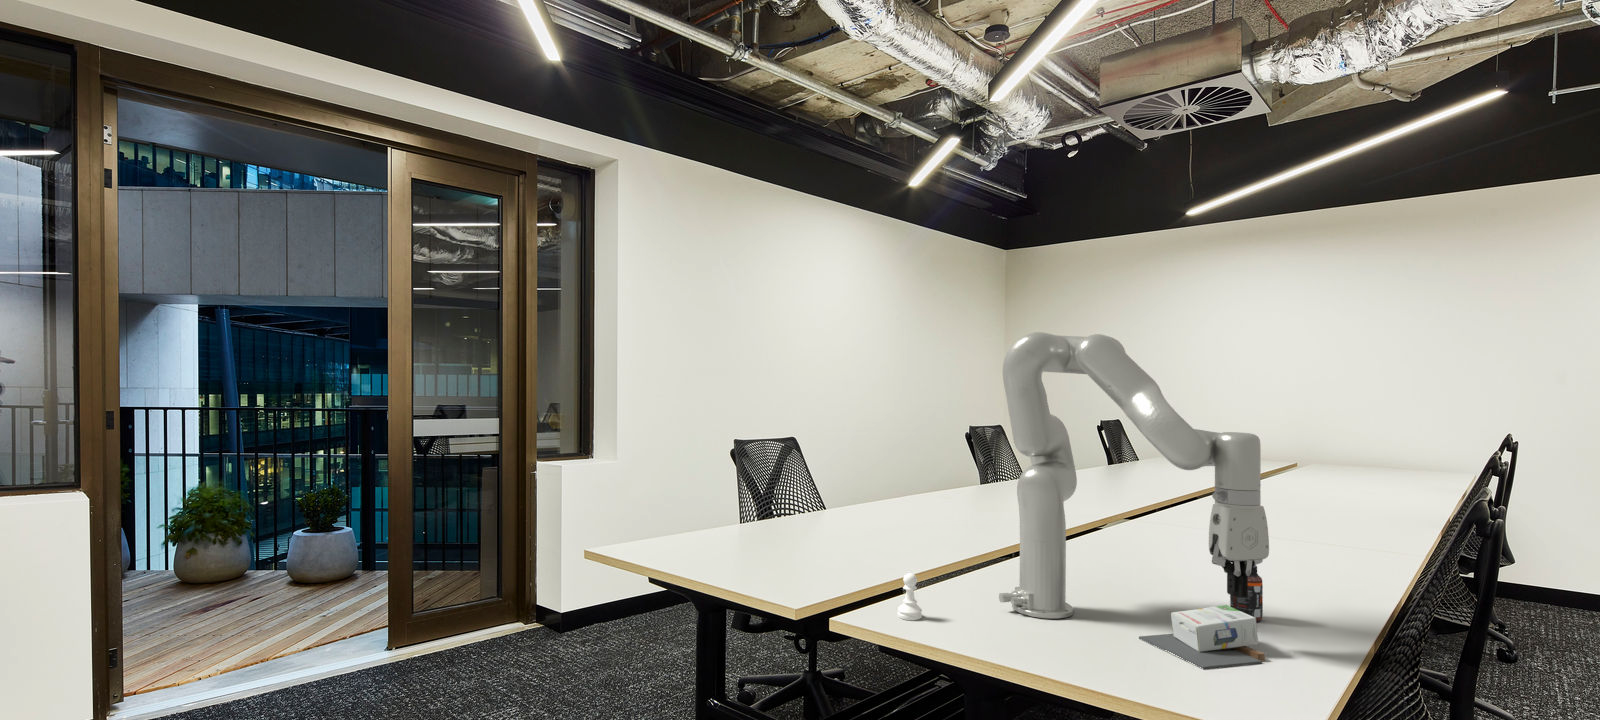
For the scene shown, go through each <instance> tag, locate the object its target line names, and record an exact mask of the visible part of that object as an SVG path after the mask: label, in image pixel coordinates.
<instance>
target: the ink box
mask: <svg viewBox="0 0 1600 720" xmlns="http://www.w3.org/2000/svg"><path fill="white" fill-rule="evenodd" d="M1170 617H1171V625H1172V628H1171V629H1172V634H1173V636H1174V637H1176V638H1177V639H1179V640H1180V641H1182V642H1184V643H1185V644H1187V645H1189V646H1190V647H1192V648H1193V649H1195V650H1197V651H1198V652H1203V651H1211V650H1219V649H1226V648H1234V647H1242V646H1247V647H1249V646H1254V645H1259V638H1258V626H1257V622H1256V618H1255V617H1253V616H1250V615H1248V614H1246V613H1243V612H1241V611H1239V610H1237V609H1234V608H1232V607H1230V605H1228V604H1225V605H1224V604H1223V605H1217V606H1209V607H1203V608H1195V609H1187V610H1181V611H1173V612H1171V613H1170Z"/></svg>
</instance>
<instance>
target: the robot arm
mask: <svg viewBox="0 0 1600 720" xmlns="http://www.w3.org/2000/svg"><path fill="white" fill-rule="evenodd" d="M1043 373H1056V374H1057V373H1059V374H1061V373H1063V374H1077V375H1087V376H1088V377H1089V378H1090V379H1091V380H1092V381H1093V382H1094V383H1095V384H1096V385H1097V386H1098V387H1099V389H1101V390H1102V391H1103V392H1104V393H1105V394H1106V395H1107V396H1108V397H1109V398H1110V399H1111V400H1112V401H1113V402H1114V403H1115V404H1116V405H1117V406H1118V407H1119V408H1120V409H1121V410H1122V411H1123V413H1124V414H1125V415H1126V417H1127V418H1128V419H1129V420H1130V421H1131V423H1133V425H1134V426H1135V427H1136V428H1137V430H1138V431H1139V432H1140V433H1141V434H1142V435H1143V437H1144V438H1145V439H1146V440H1147V441H1148V442H1149V443H1150V444H1151V445H1152V446H1153V447H1154V448H1155V449H1156V450H1157V451H1158V452H1159V453H1160V454H1161V455H1162V457H1164V458H1166V460H1167V461H1168V462H1169V463H1170V464H1172V465H1173V466H1174V467H1177V468H1178V469H1181V470H1185V471H1196V470H1198V469H1201V468H1204V467H1214V492H1212V495H1211V496H1212V499H1213V500H1214V504H1212V507H1211V512H1210V513H1211V514H1210V520H1209V525H1208V527H1209V529H1208V551H1209V554H1210V555H1211V556H1212V557H1211V564H1213V565H1216V566H1219V567H1222V569H1223V572H1224V573H1225V574H1226V593H1227V595H1229V596H1230V595H1233V596H1236V597H1239V598H1242V597H1248V576H1249V575H1250V574H1251V569H1252V568H1253V567H1254V565H1256V566H1258V565H1260V564H1261V563H1263V560H1265V559H1268V557H1269V556H1270V555H1269V554H1270V540H1269V539H1270V538H1269V527H1268V519H1267V514H1266V510H1265V508H1264V505H1261V503H1262V502H1261V491H1262V490H1261V486H1262V485H1261V472H1262V471H1261V467H1262V466H1261V439H1260V437H1259V436H1258V435H1256V434H1254V433H1251V432H1238V431H1237V432H1233V431H1230V432H1229V431H1226V432H1225V431H1223V432H1215V431H1209V430H1204V429H1196V428H1195V429H1194V428H1193V427H1192V425H1190V424H1189V423H1188V422H1187V421H1186V420H1185V419H1184V418H1183V417H1182V416H1181V415H1180V414H1179V413H1178V412H1177V411H1176V410H1175V408H1173V407H1172V406H1171V405H1170V404H1169V402H1168V401H1167V399H1166V398H1165V396H1164V395H1163V393H1162V390H1161V388H1160V385H1158V383H1157V382H1156V380H1154V379H1153V378H1152V377H1151V376H1150V375H1149V373H1147V372H1146V371H1145V370H1144V369H1143V368H1142V367H1141V366H1139V364H1138V363H1137V362H1135V360H1134V359H1132V358H1131V357H1130V356H1129V355H1128V354H1127V352H1126V349H1125V347H1124V346H1123V344H1122V343H1121V342H1120V340H1117V339H1116V338H1114V337H1111V336H1109V335H1104V334H1101V333H1100V334H1099V333H1097V334H1091V335H1088V336H1074V335H1073V336H1072V335H1058V334H1057V335H1055V334H1052V333H1047V332H1040V331H1038V332H1032V333H1028V334H1025V335H1023V336H1022V337H1020V338H1019V339H1017V340H1016V341H1015V342H1014V343H1013V344H1012V345H1011V346H1010V348H1009V349H1008V351H1007V352H1006V354H1005V357H1004V358H1003V363H1002V379H1003V380H1002V381H1003V387H1004V391H1005V396H1006V397H1005V398H1006V403H1007V409H1008V416H1009V422H1010V428H1011V432H1012V438H1013V444H1014V446H1015V448H1016V449H1017V450H1018V453H1020V454H1022V455H1024V456H1025V457H1029V458H1030V463H1031V465H1030V466H1028V467H1027V468H1025V470H1023V472H1022V473H1021V474H1020V475H1019V478H1018V479H1017V480H1018V481H1017V486H1016V495H1017V503H1018V512H1019V515H1018V516H1019V586H1014V590H1013V591H1012V592H1001V593H999V594H998V601H999V602H1000V603H1010V604H1011V608H1012V609H1013V610H1014V611H1016V612H1017V613H1019V614H1022V615H1024V616H1029V617H1033V618H1034V617H1035V618H1039V619H1049V620H1050V619H1057V620H1058V619H1064V618H1065V619H1066V618H1069V617H1071V616H1072V615H1073V614H1074V607H1073V606H1072V605H1071V604H1069V603H1067V602H1066V599H1067V595H1066V591H1067V590H1066V589H1067V586H1066V585H1067V584H1066V583H1067V582H1066V576H1067V573H1066V572H1067V568H1066V567H1067V533H1066V532H1067V527H1066V525H1067V524H1066V523H1067V522H1066V514H1065V506H1064V504H1065V503H1064V502H1065V501H1068V500H1070V498H1071V497H1072V496H1073V495H1074V493H1075V492H1076V489H1077V485H1078V480H1077V478H1078V477H1077V471H1076V468H1075V467H1076V465H1075V461H1074V456H1073V451H1072V446H1071V441H1070V436H1069V433H1068V430H1067V427H1066V426H1065V424H1064V423H1063V421H1062V420H1061V419H1060V418H1059V417H1057V416H1055V415H1054V414H1051V412H1050V408H1049V403H1048V396H1047V392H1046V388H1045V386H1044V383H1043V379H1042V375H1043Z"/></svg>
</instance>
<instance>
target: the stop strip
mask: <svg viewBox="0 0 1600 720" xmlns="http://www.w3.org/2000/svg"><path fill="white" fill-rule="evenodd" d="M1232 649H1235V650H1237V651H1239V652H1242V653H1244V654H1246V655H1249V656H1251V657H1253V658H1256V659H1258V660H1261V661H1262V662H1264V661H1265V659H1266V655H1265V654H1266V653H1264V652H1262V651H1260V650H1257V649H1254V648H1252V647H1249V646H1242V647H1234V648H1232Z"/></svg>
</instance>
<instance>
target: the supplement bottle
mask: <svg viewBox="0 0 1600 720" xmlns="http://www.w3.org/2000/svg"><path fill="white" fill-rule="evenodd" d="M1263 587H1264V586H1263V578H1262V576H1260V575H1259V574H1258V565H1254V567H1253V568H1252V569H1251V574H1250V575H1249V576H1248V597H1242V598H1239V597H1236V596H1233V595H1230V594H1229V597H1230V599H1229V602H1230V604H1229V606H1230V607H1232V608H1234V609H1237V610H1239V611H1241V612H1243V613H1246V614H1248V615H1250V616H1253V617H1255V618H1256V623H1257V622H1260V621H1262V620H1263V615H1264V614H1263V613H1264V612H1263V611H1264V610H1263V606H1264V604H1263V599H1264V597H1263V594H1264V592H1263V589H1264V588H1263Z"/></svg>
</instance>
